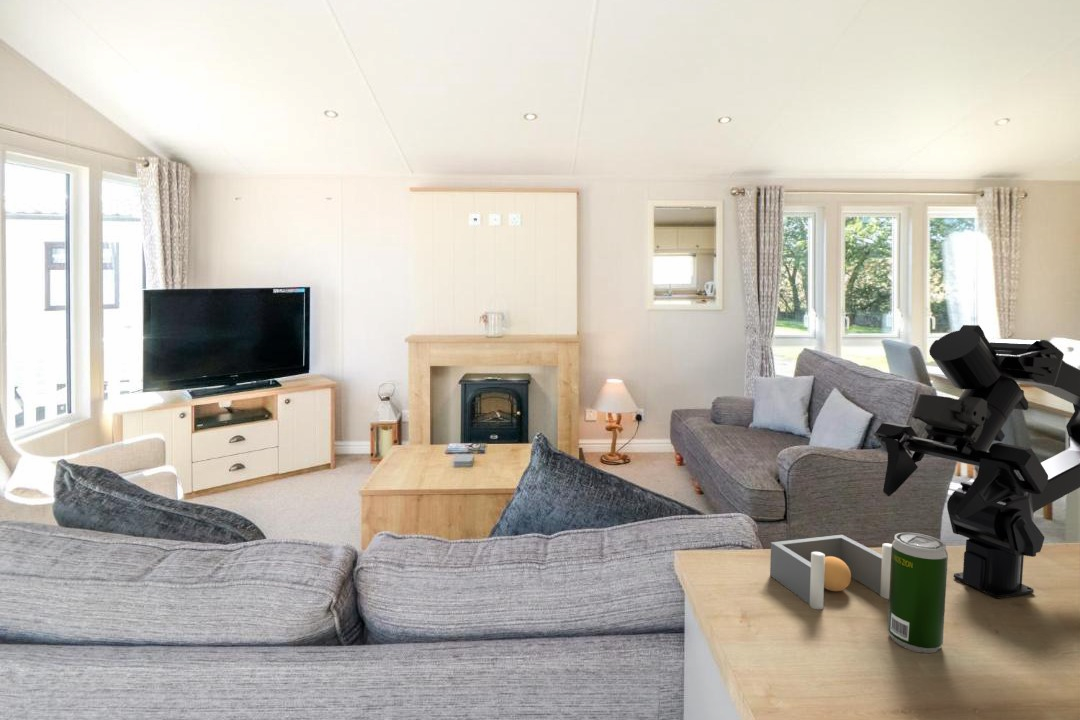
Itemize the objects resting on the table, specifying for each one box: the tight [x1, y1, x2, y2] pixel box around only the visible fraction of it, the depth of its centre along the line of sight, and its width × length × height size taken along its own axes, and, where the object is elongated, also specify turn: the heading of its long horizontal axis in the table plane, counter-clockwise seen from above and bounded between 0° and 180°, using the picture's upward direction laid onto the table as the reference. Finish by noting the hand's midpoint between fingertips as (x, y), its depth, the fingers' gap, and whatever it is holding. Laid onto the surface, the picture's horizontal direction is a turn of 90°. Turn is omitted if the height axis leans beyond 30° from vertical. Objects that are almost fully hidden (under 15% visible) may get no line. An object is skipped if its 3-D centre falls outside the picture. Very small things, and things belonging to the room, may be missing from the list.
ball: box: [824, 556, 852, 592], centre depth 78 cm, size 4×4×4 cm
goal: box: [769, 534, 892, 610], centre depth 79 cm, size 13×10×7 cm
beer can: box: [887, 532, 949, 654], centre depth 65 cm, size 5×5×12 cm
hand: (919, 504), depth 72 cm, fingers open, 9 cm apart
